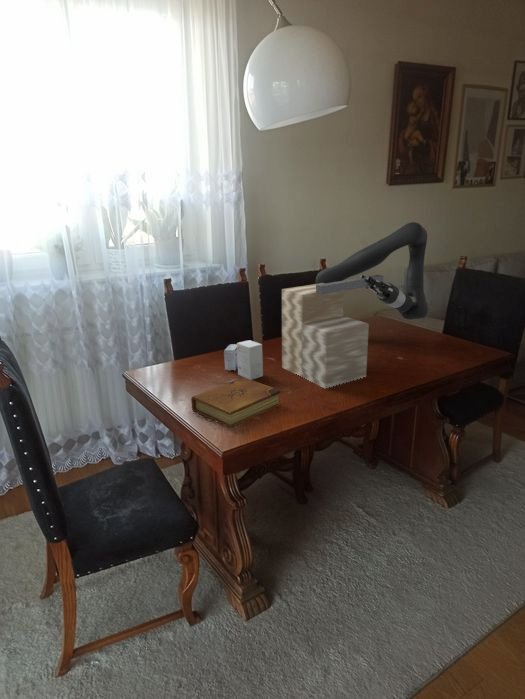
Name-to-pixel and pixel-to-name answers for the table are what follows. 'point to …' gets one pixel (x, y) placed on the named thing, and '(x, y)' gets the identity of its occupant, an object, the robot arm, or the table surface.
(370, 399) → the table surface
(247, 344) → the small box
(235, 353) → the medicine box
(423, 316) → the robot arm
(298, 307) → the stand
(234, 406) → the diary
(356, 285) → the bar
